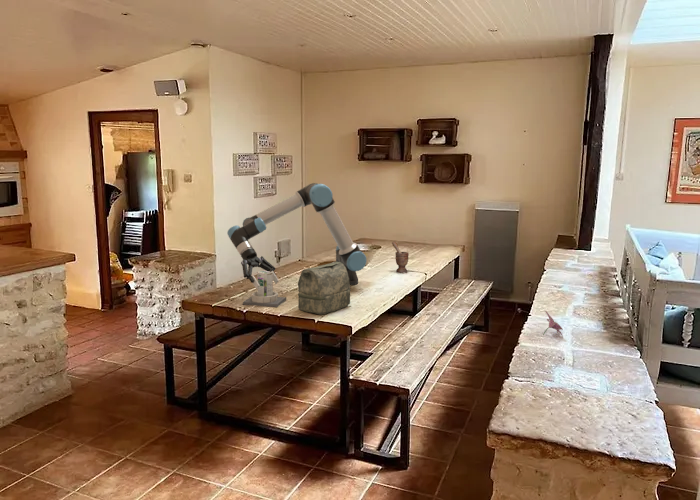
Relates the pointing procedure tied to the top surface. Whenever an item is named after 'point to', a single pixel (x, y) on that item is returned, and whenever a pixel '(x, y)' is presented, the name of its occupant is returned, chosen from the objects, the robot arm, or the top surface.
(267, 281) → the syrup box
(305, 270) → the lunch bag
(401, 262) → the mortar and pestle
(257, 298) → the ring block
